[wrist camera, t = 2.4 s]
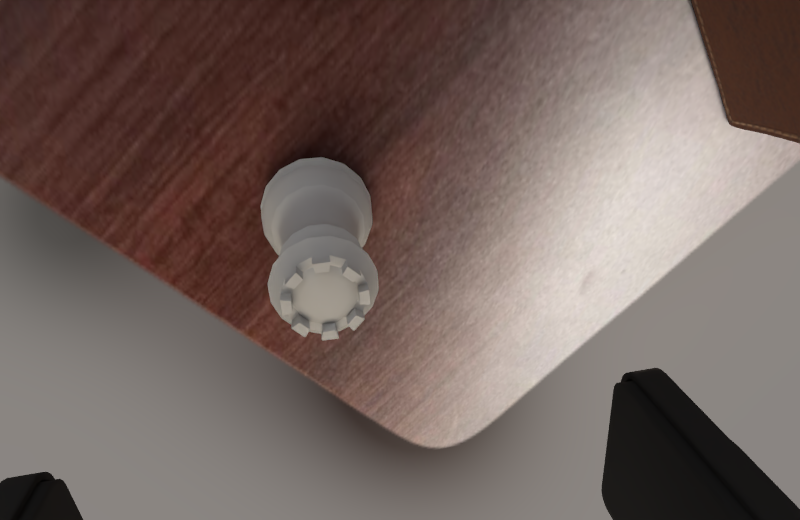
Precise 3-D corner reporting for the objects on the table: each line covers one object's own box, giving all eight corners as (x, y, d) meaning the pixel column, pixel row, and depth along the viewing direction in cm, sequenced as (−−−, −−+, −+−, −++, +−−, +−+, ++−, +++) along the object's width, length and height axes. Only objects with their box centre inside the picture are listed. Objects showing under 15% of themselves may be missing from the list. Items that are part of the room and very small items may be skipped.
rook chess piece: (310, 275, 24) (316, 393, 16) (237, 200, 22) (207, 297, 14) (391, 213, 23) (434, 307, 16) (324, 130, 21) (337, 195, 14)
